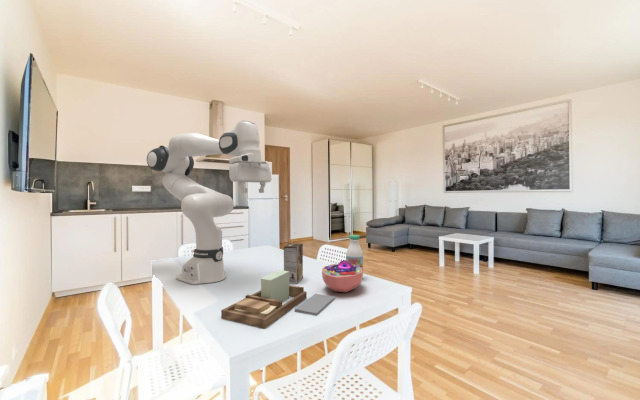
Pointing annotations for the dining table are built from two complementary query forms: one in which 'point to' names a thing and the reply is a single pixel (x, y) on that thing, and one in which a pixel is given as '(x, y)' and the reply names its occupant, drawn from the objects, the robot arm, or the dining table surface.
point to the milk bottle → (355, 252)
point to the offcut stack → (254, 307)
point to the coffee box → (294, 262)
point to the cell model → (342, 276)
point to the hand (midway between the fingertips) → (253, 192)
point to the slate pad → (315, 304)
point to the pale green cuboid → (276, 286)
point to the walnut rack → (280, 309)
